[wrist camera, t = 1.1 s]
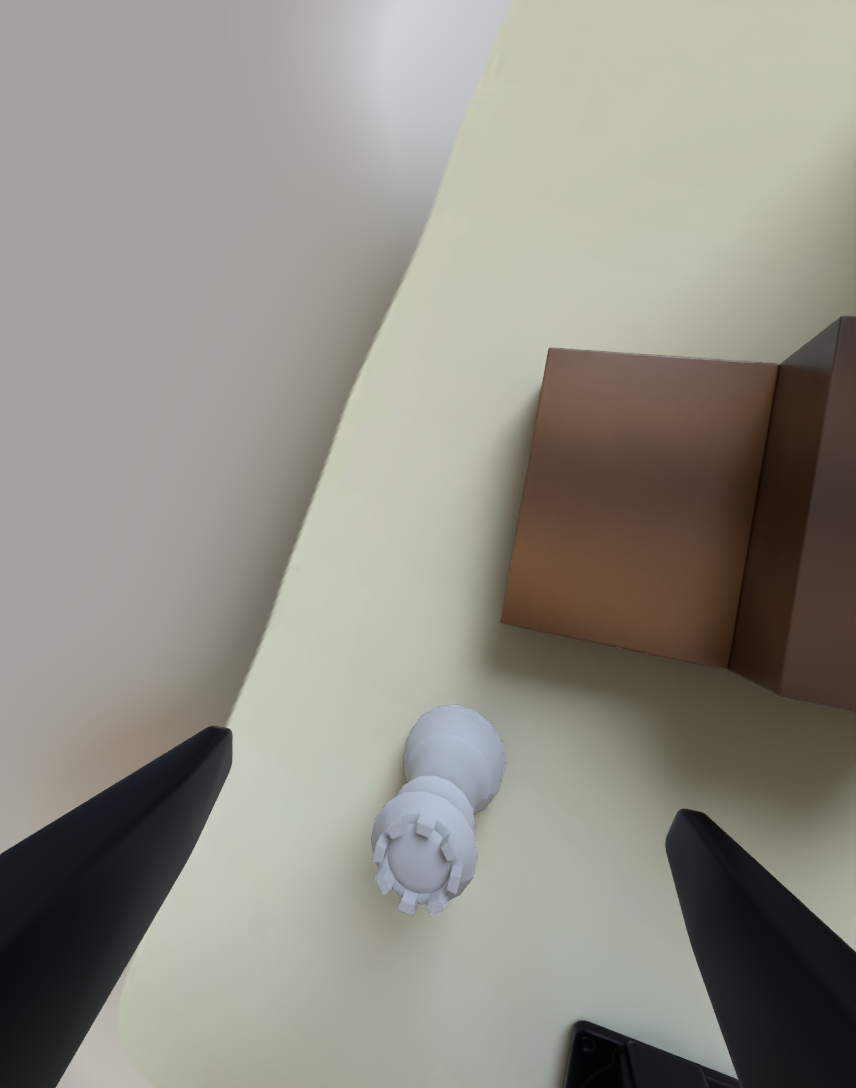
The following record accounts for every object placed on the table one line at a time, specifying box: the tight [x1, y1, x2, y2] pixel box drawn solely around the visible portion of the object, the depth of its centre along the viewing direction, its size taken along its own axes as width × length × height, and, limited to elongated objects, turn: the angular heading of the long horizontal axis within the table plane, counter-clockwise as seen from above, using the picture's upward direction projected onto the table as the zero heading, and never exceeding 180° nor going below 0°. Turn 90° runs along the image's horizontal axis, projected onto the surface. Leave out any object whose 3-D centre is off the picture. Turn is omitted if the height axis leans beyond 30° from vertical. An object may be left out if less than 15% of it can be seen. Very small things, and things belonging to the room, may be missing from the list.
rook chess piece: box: [371, 705, 506, 916], centre depth 16 cm, size 4×4×8 cm
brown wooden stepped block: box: [501, 316, 856, 712], centre depth 15 cm, size 11×16×8 cm
